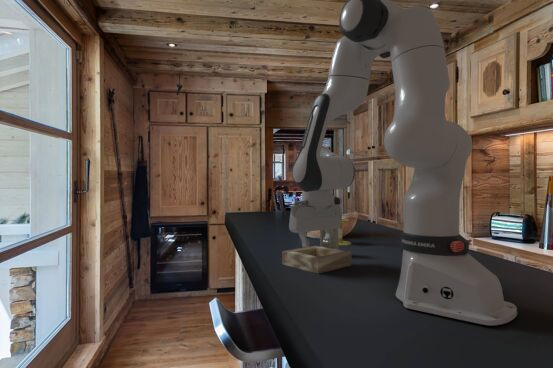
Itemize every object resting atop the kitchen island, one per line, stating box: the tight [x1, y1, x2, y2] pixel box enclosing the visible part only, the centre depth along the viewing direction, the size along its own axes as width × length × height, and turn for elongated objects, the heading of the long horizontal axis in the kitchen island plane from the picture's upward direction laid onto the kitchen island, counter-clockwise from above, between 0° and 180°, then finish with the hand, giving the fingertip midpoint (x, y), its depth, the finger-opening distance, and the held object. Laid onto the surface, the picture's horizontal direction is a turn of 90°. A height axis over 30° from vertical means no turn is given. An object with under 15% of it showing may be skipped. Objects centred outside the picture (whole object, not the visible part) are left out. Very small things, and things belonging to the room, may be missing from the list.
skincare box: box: [319, 228, 340, 250], centre depth 124 cm, size 6×4×12 cm
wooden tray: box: [281, 245, 353, 274], centre depth 108 cm, size 15×15×4 cm
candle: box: [336, 189, 352, 246], centre depth 146 cm, size 10×10×27 cm
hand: (316, 244), depth 108 cm, fingers open, 8 cm apart
